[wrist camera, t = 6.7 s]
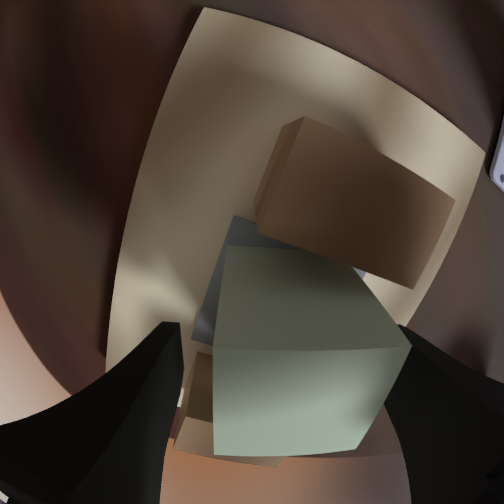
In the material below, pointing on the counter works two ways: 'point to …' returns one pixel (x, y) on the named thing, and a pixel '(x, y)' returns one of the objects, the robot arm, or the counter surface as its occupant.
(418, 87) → the counter surface
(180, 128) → the board
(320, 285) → the sage block
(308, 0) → the counter surface
